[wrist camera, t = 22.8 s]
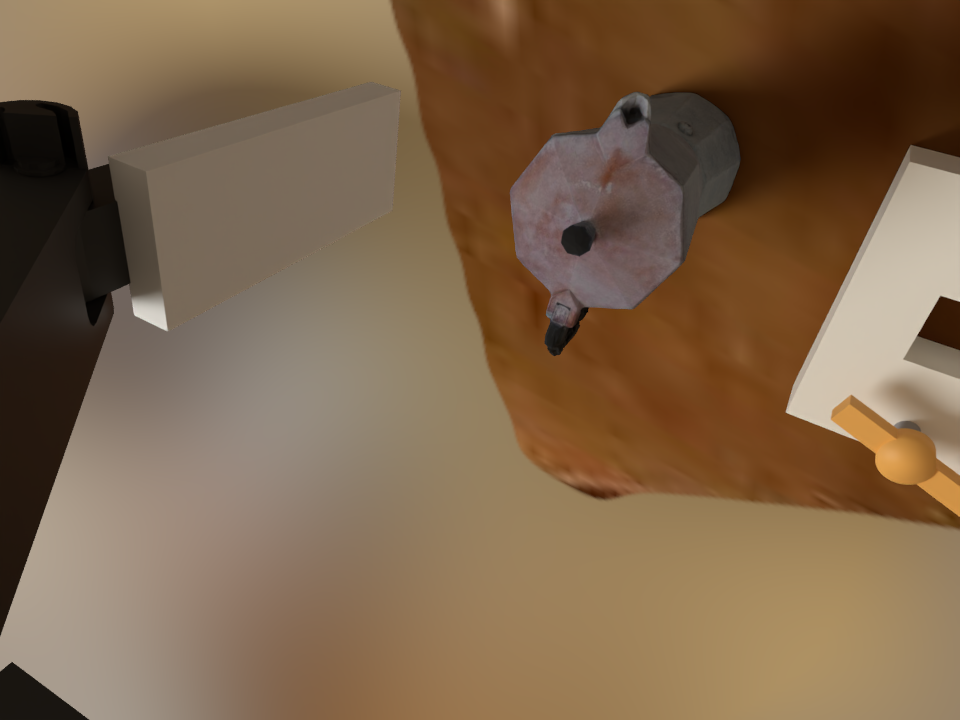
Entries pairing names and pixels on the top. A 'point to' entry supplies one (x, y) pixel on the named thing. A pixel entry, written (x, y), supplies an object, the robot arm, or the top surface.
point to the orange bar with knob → (900, 452)
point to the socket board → (895, 314)
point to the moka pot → (620, 203)
